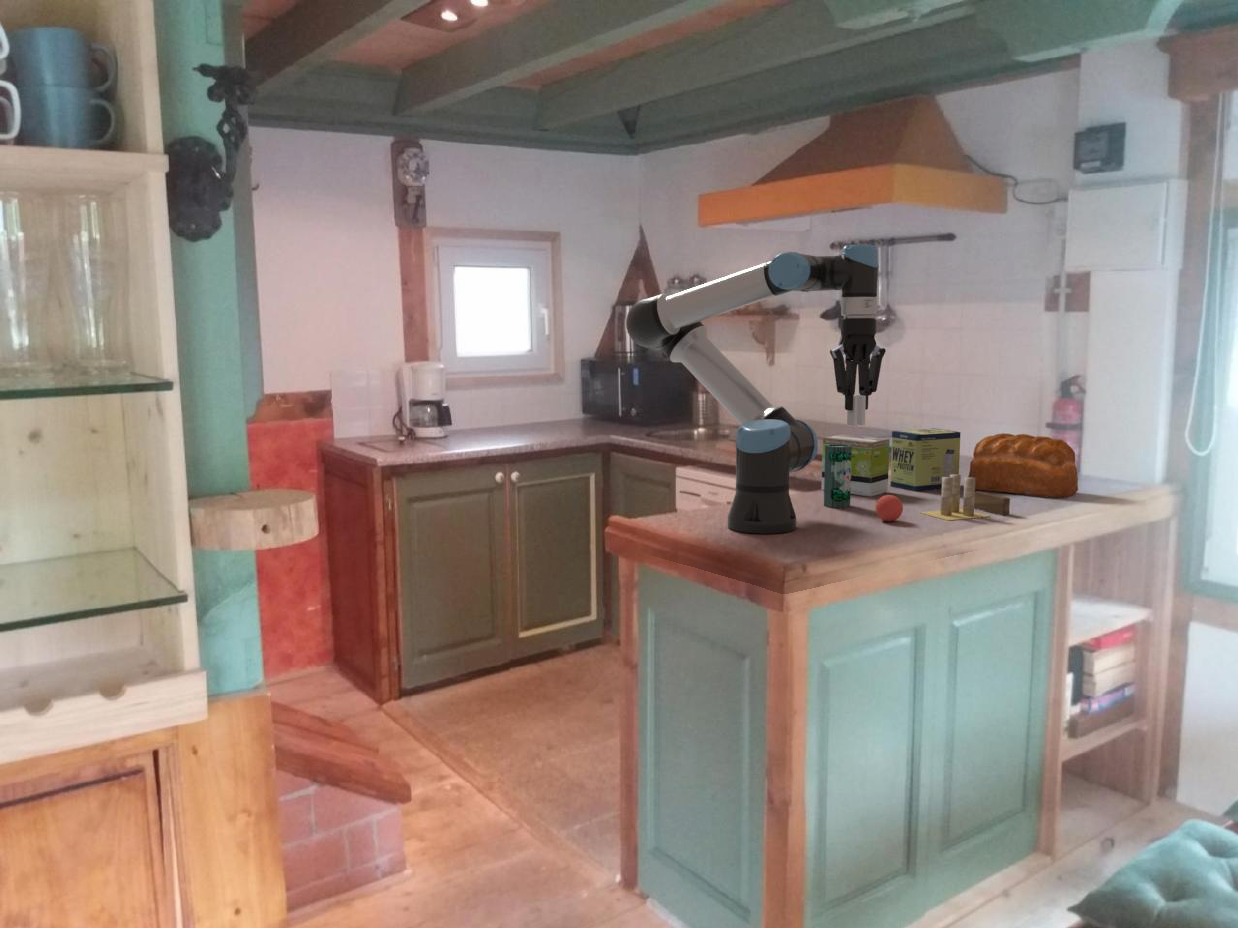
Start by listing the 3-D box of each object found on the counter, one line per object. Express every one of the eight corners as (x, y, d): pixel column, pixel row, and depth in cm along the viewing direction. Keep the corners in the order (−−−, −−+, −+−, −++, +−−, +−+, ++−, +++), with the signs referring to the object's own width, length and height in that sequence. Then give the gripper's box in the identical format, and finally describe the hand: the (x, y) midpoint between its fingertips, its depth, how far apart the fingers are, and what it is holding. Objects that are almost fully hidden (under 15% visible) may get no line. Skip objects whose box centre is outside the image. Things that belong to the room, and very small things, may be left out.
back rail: (1002, 515, 227) (1003, 498, 226) (972, 508, 236) (973, 492, 235) (1009, 514, 227) (1009, 498, 227) (979, 507, 237) (980, 491, 236)
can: (838, 508, 237) (839, 447, 235) (819, 505, 242) (820, 445, 240) (854, 506, 240) (856, 445, 238) (835, 502, 245) (837, 443, 243)
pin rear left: (953, 513, 229) (954, 476, 228) (946, 512, 232) (947, 474, 230) (961, 513, 230) (962, 475, 229) (954, 511, 233) (956, 474, 231)
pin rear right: (967, 517, 225) (969, 479, 224) (960, 515, 227) (962, 477, 226) (976, 516, 226) (977, 478, 224) (968, 514, 228) (970, 477, 227)
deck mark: (948, 520, 221) (948, 519, 221) (920, 513, 231) (920, 512, 231) (990, 516, 226) (990, 515, 226) (960, 509, 235) (961, 508, 235)
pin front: (945, 516, 226) (946, 478, 224) (938, 515, 228) (939, 477, 227) (953, 516, 227) (955, 478, 225) (946, 514, 229) (948, 476, 227)
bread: (1063, 500, 246) (1066, 440, 244) (961, 489, 264) (964, 433, 262) (1081, 493, 256) (1085, 435, 254) (983, 483, 274) (985, 428, 272)
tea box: (820, 491, 263) (821, 436, 261) (839, 486, 270) (840, 433, 268) (870, 497, 253) (872, 440, 251) (889, 492, 260) (890, 437, 258)
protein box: (889, 486, 270) (890, 430, 268) (932, 482, 276) (934, 427, 274) (915, 492, 260) (917, 434, 258) (959, 487, 267) (962, 431, 265)
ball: (885, 524, 218) (886, 498, 217) (869, 519, 223) (870, 493, 222) (907, 522, 220) (908, 496, 219) (891, 517, 225) (892, 492, 225)
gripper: (840, 317, 206) (837, 427, 209) (897, 317, 211) (893, 425, 214) (820, 317, 213) (818, 424, 216) (876, 317, 218) (873, 422, 221)
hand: (855, 424), depth 215 cm, fingers closed
